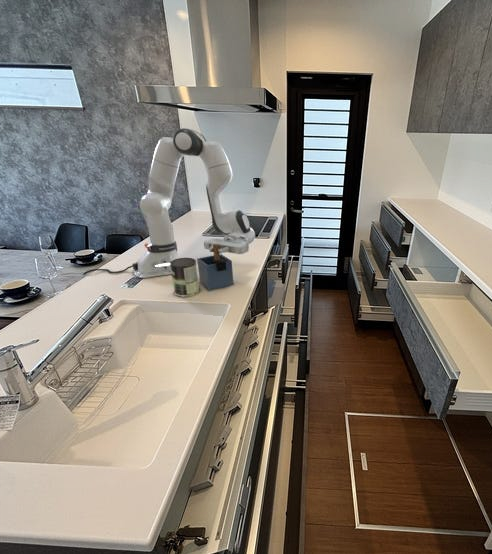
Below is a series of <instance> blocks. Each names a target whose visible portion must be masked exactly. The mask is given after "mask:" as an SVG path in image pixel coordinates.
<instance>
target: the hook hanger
mask: <svg viewBox="0 0 492 554" xmlns="http://www.w3.org/2000/svg"><path fill="white" fill-rule="evenodd" d="M218 249H219V245H218V244H213V252H212V253H213V255H214V260H212V263H213V264H216V266H217V271H223V270H226V261H224V260H222V259H221V258H220V254H221V253H218Z"/></svg>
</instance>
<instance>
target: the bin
mask: <svg viewBox="0 0 492 554" xmlns="http://www.w3.org/2000/svg"><path fill="white" fill-rule="evenodd" d="M219 254H220V258H221V259H222V260H224V261H226V270H223V271H217V266H216V264H213V263H212V260H214V254H213V255H209V256H203V257H198V258H196V263H197V269H198V270H197V271H198V278H199V283H200V284H201V285H203V286H204V288H206V289H207V290H208V291H215V290H218V289H222V288H226V287H230V286H233V285H234V273H233V261H232V259H230V258H228V257H227V256H225V255H223V253H219Z"/></svg>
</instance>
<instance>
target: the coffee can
mask: <svg viewBox="0 0 492 554" xmlns="http://www.w3.org/2000/svg"><path fill="white" fill-rule="evenodd" d="M170 266H171V272H172V274H171V277H172V283H173V284H172V285H173V290H174V295H175V296H177V297H182V298H185V297H192V296H195V295H196V294H197V295H198V293H199V292H200V286H199V279H198V278H199V276H198V270H197V269H198V268H197V259H195V258H192V257H179V258H178V259H175V260H172V261H171V262H170Z"/></svg>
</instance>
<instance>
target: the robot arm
mask: <svg viewBox="0 0 492 554" xmlns="http://www.w3.org/2000/svg"><path fill="white" fill-rule="evenodd" d="M206 139H207V138H205V136H204V135H203V134H202V133H200V132H198V131H196V130H195V129H191V128H190V129H189V128H186V127H185V128H179V129H177V130H176V131H175V132H174V134H173V136H172V137H169V136H163V137H160V139H159V140H158V143H157V144H156V147H155V150H154V153H153V156H152V161H151V166H150V170H149V174H148V176H149V179H148V190H147V193H146V194H144V195H143V196H142V197H141V199H140V202H139V210H140V211H141V213H142V216H143V218H144V221H145V224H146V226H147V230H148V235H149V240H150V243H147V242H146V243H144V248H145V249H147V251H146V252H145V253H144V254H143V255H142V256H140V258H139V259H138V261H137V262H134V263H132V265H129V266H127V267H126V268H125V269H121V270H117V271H113V270H112V271H111V270H110V269H108V268H93V269H89V270H87V271H85V272H84V273H82V276H86V275H87V274H88V273H90V272H97V271H106V272H108V273H110V274H119V273H123V272H125V271H127V270H129V269H131V268H132V269H133V275H134V276H135V277H136V278H139V279H147V278H154V277H155V278H156V277H162V276H168V275H172V272H171V266H170V262H171V261H172V260H175V259H178V258H180V257H179V255H178V245H177V241H176V240H175V231H174V227H173V224H172V221H171V218H170V214H169V209H170V208H171V206H172V202H173V198H174V192H175V187H176V186H175V185H176V181H177V177H178V172H179V168H180V165H181V160H182V159H183V157H185V156H187V157H199V158H200V159H201V160H202V162H203V164H204V167H205V171H206V174H207V183H206V186H205V188H206V189H205V190H206V196H207V200H208V201H207V202H208V205H209V209H210V214H211V225H212V229H213V230H214V232H215V233H217V234H218V235H220V236H224V237H223V238H218V237H217V238H210V239H205V240H204V241H203V248H204V250H209V252H210V253H214V252H213V244H218V245H219V249H218V253H219V254H224V253H229V254H235V255H243V254H246V253H248V252H249V251H250V250H249V249H250V245H251V244H252V243H253V242H254V241H255V238H256V232H255V230H254V229H253V228H252V226H251V221H250V219H249V216H248V215H247V214H246V213H245V211H243V210H234V211H231V212H226V213H224V212H223V207H222V203H221V198H220V197H221V194H222V192H223V190H224V189H225V188H226V187H228V186H229V184H230V183H231V181H232V179H233V170H232V167H231V163H230V161H229V158H228V156H227V154H226V151H225V148H224V147H223V145H222V144H221V143H220V142H219V141H217V140H209V141H207V140H206Z"/></svg>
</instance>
